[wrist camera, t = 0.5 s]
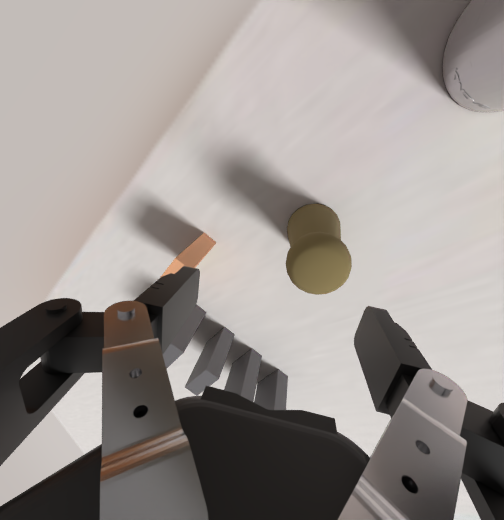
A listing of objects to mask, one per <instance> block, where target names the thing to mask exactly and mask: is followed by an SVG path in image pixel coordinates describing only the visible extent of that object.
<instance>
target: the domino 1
mask: <svg viewBox="0 0 504 520" xmlns="http://www.w3.org/2000/svg"><path fill="white" fill-rule="evenodd" d="M205 314H206V312H205V311H204V310H203V309H201V308H200V307H199V306H198V305H196V306H195V308H194V310H193V311H192V313H191V314H190V316H189V317H188V319H187V320H186V322H185V323H184V325H183V326H182V328H181V329H180V330H179V332H178V333H177V335H176V336H175V338H174V339H173V341H172V342H171V344H170V345H169V347H168V348H167V350H166V351H165V352H164V354H163V358H164V362H165V366H166V369H167V368H168V367H169V366H170V365H171V364H172V363H173V362H174V361H175V360H176V359H177V358H178V357H179V356H180V355H182V354H183V353H184V351H185V349H186V347H187V346H188V344H189V342H190V340H191V339H192V337H193V335H194V333H195V332H196V330H197V328H198V326H199V325H200V323H201V321H202V319H203V318H204V316H205Z"/></svg>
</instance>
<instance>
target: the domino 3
mask: <svg viewBox="0 0 504 520" xmlns="http://www.w3.org/2000/svg"><path fill="white" fill-rule="evenodd" d="M261 358H262V356H261V355H260V354H259V353H257V352H256V351H255V350H254V349H251V350H249V351H248V352H247V353H245V354H244V355H243V356H242V357H240V358H239V359H238V360H236V361H235V362H234V363H233V364H232V367H231V370H230V373H229V376H228V380H227V383H226V386H225V389H224V390H225V391H229V392H233V393H237V394H238V395H240V396H242V397H244V398H246V399H248V400H250V401H252V402H253V400H254V395H255V389H256V384H257V379H258V373H259V368H260V363H261Z"/></svg>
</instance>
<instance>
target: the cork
mask: <svg viewBox="0 0 504 520" xmlns="http://www.w3.org/2000/svg"><path fill="white" fill-rule="evenodd" d="M287 233H288V239H289V243H290V247H291V248H290V249H289V251H288V254H287V260H286V268H287V273H288V275H289V277H290V279H291V281H292V283H294V284H295V285H296V286H297V287H298V288H299V289H301V290H303V291H305V292H307V293H312V294H327V293H329V292H332V291H335V290H336V289H338V288H339V287H341V286H342V285H343V284H344V283H345V281H346V280H347V279H348V277H349V274H350V271H351V256H350V253H349V251H348V249H347V247H346V245H345V244H344V243H343V242H342V241H341V230H340V221H339V219H338V216H337V214H336V213H335V212H334V211H333V210H332V209H331V208H329V207H327V206H325V205H321V204H309V205H305V206H303V207H301V208H299V209H298V210H296V211H295V212H294V213H293V214H292V216H291V218H290V220H289V221H288V226H287Z"/></svg>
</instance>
